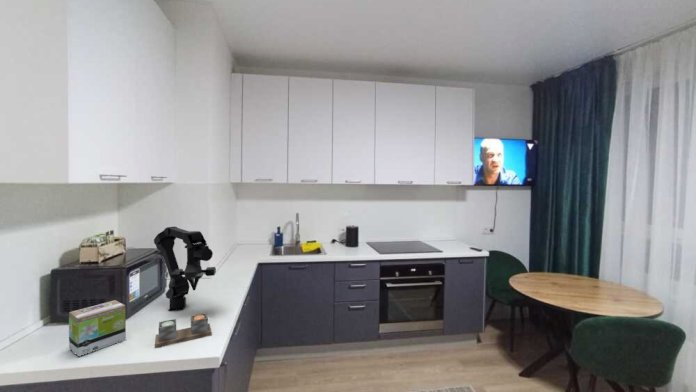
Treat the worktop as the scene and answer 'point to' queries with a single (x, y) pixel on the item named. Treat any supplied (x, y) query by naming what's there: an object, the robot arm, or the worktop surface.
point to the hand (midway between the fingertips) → (194, 290)
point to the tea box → (96, 327)
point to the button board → (182, 332)
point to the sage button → (167, 323)
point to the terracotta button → (199, 317)
